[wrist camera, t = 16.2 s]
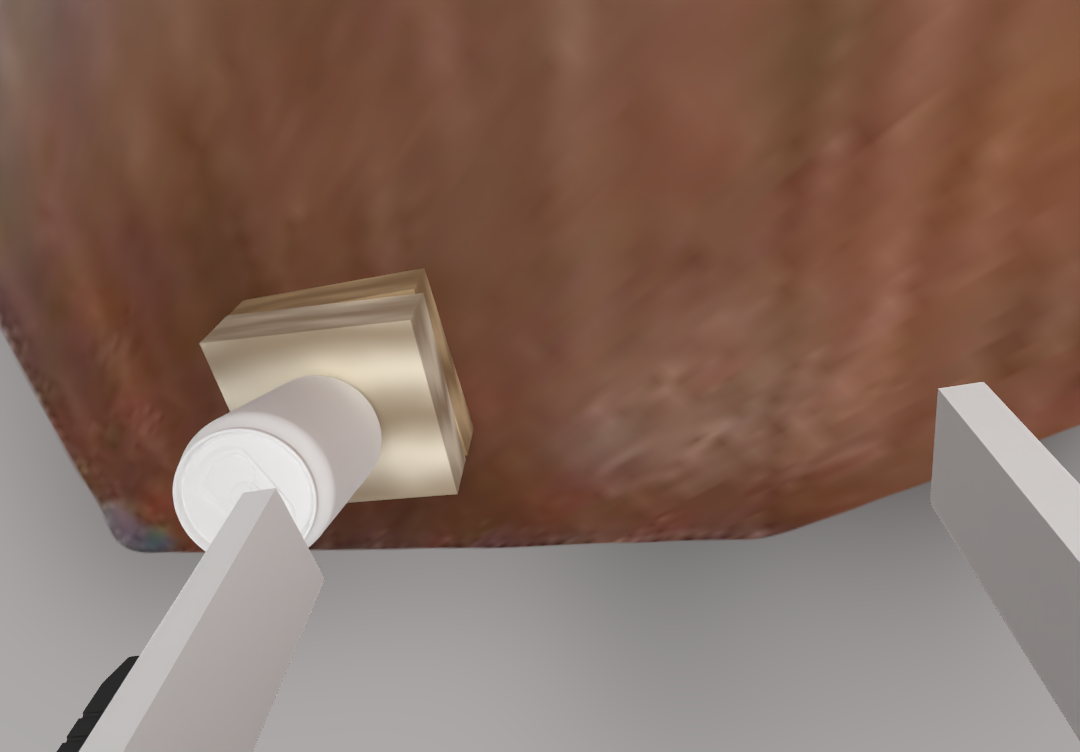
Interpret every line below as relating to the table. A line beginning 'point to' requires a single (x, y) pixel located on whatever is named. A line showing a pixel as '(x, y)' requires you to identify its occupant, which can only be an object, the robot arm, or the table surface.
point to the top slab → (355, 380)
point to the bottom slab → (370, 290)
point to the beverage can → (280, 457)
